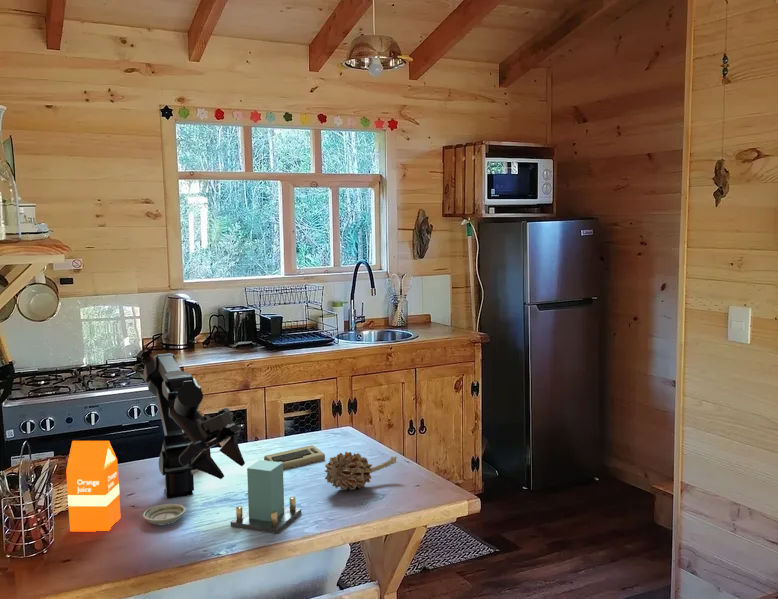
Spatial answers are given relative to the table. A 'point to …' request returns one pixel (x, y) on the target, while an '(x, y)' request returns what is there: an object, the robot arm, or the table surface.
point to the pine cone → (351, 470)
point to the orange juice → (92, 486)
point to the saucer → (164, 513)
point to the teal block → (265, 489)
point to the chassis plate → (267, 526)
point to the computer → (297, 456)
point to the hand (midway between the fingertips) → (233, 471)
